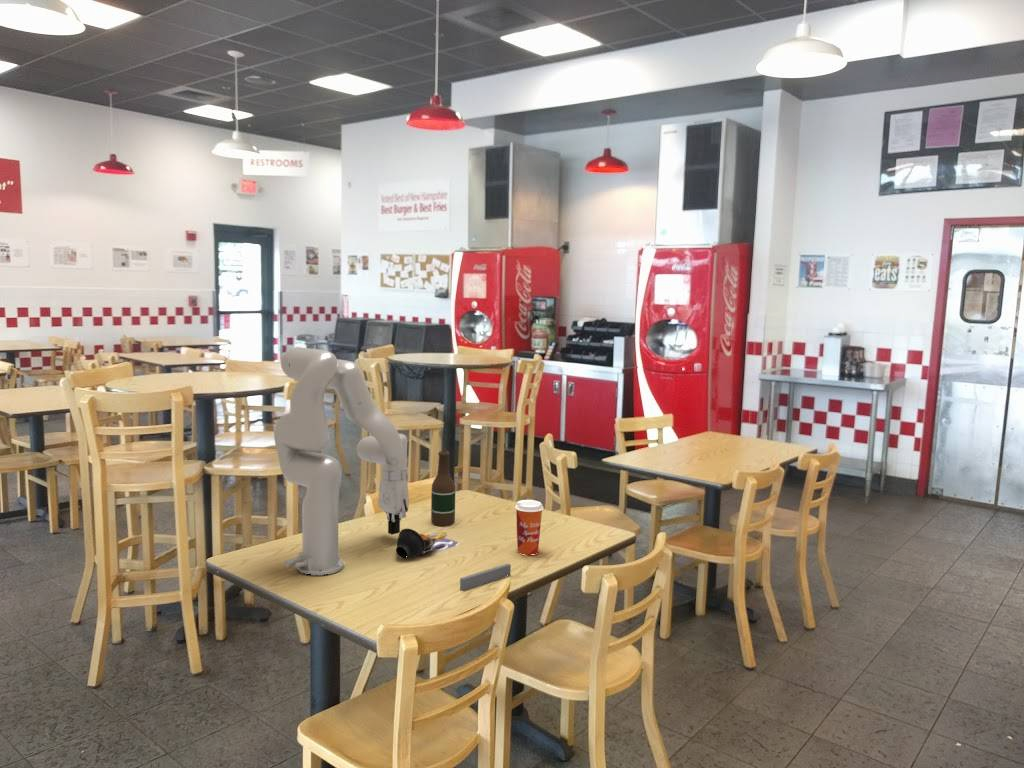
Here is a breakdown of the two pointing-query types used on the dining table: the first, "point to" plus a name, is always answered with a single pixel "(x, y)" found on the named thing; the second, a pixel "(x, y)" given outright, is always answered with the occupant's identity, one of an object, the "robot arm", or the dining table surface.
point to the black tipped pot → (415, 543)
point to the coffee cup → (528, 526)
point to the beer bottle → (443, 494)
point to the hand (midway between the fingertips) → (393, 533)
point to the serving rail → (484, 577)
